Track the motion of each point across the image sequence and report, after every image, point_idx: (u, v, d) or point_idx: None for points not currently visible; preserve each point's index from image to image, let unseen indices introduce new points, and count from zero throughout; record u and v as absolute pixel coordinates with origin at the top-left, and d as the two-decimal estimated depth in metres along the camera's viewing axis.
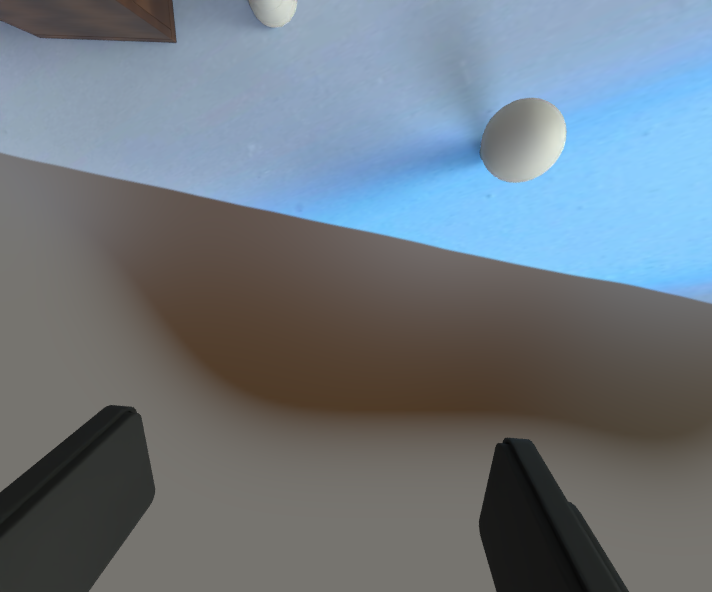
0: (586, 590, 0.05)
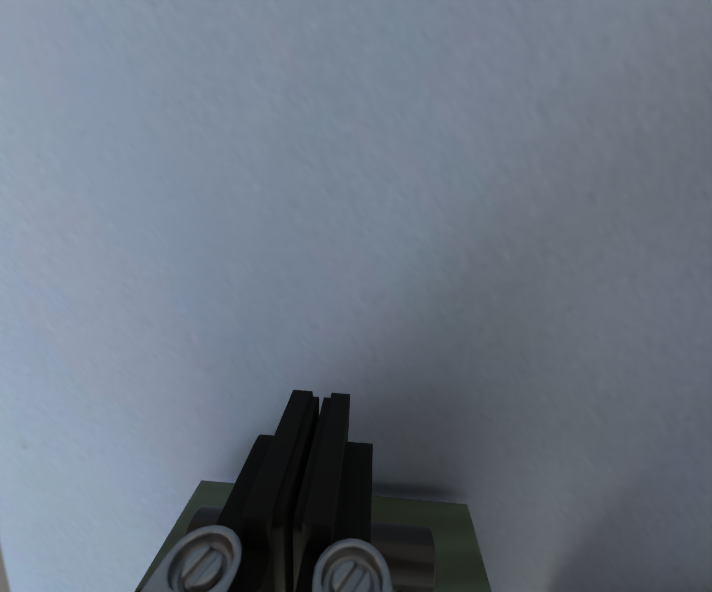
0: (309, 490, 0.06)
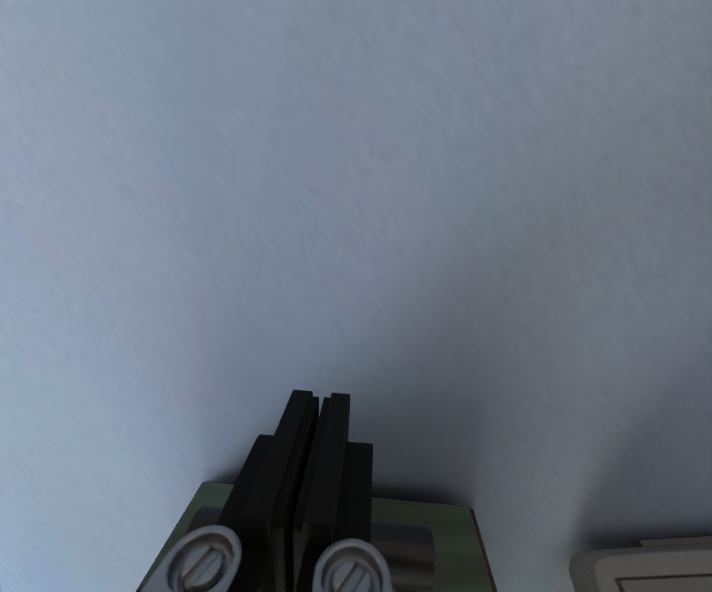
0: (309, 490, 0.06)
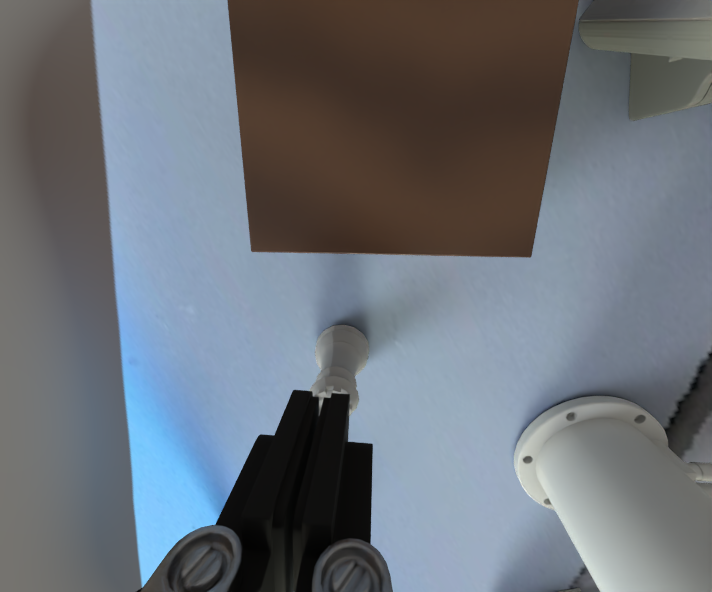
0: (309, 490, 0.06)
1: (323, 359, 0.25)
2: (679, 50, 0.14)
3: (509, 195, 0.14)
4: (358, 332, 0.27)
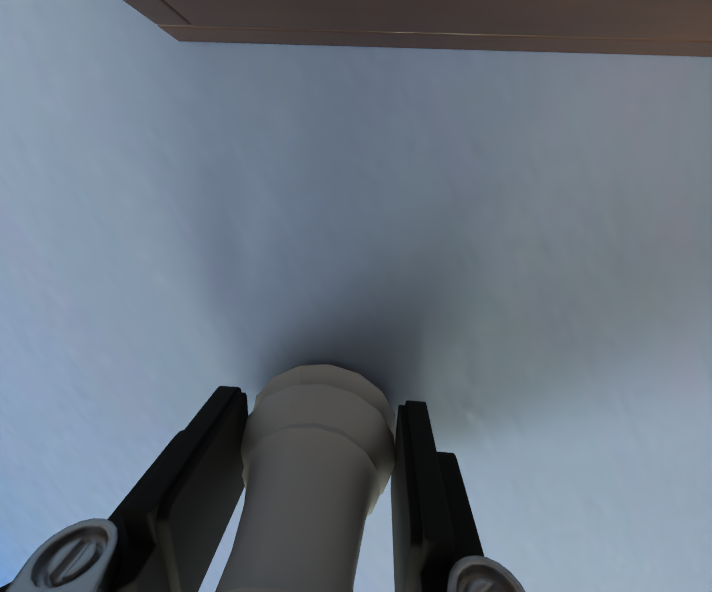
0: (420, 504, 0.06)
1: (249, 496, 0.07)
2: None
3: None
4: (369, 388, 0.09)
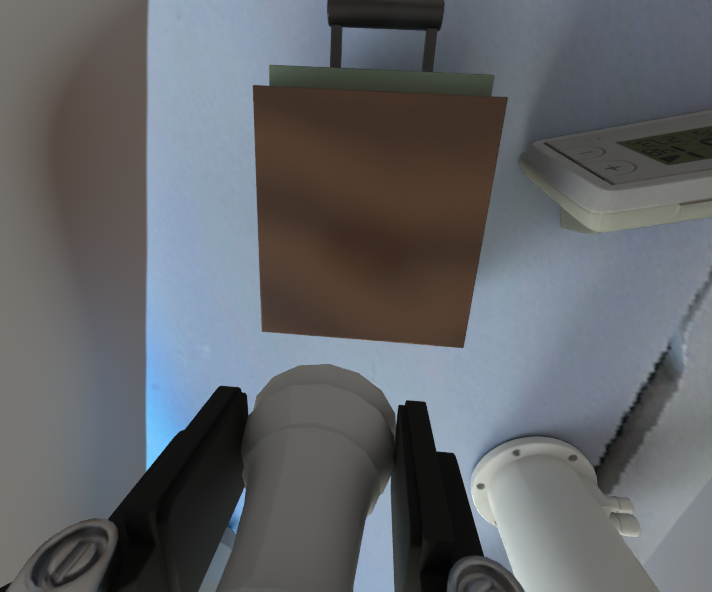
0: (420, 504, 0.06)
1: (249, 495, 0.07)
2: (569, 213, 0.20)
3: (447, 306, 0.20)
4: (369, 388, 0.09)
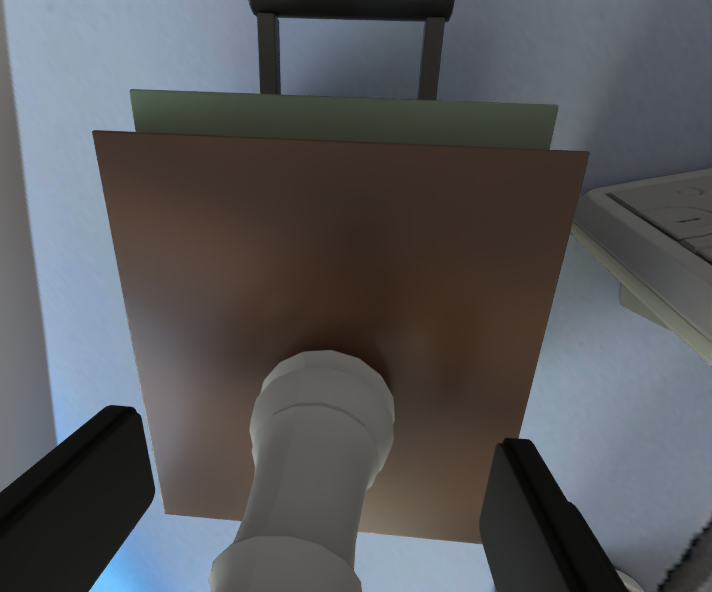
0: (586, 590, 0.05)
1: (260, 466, 0.08)
2: (674, 332, 0.12)
3: (465, 489, 0.12)
4: (369, 372, 0.10)
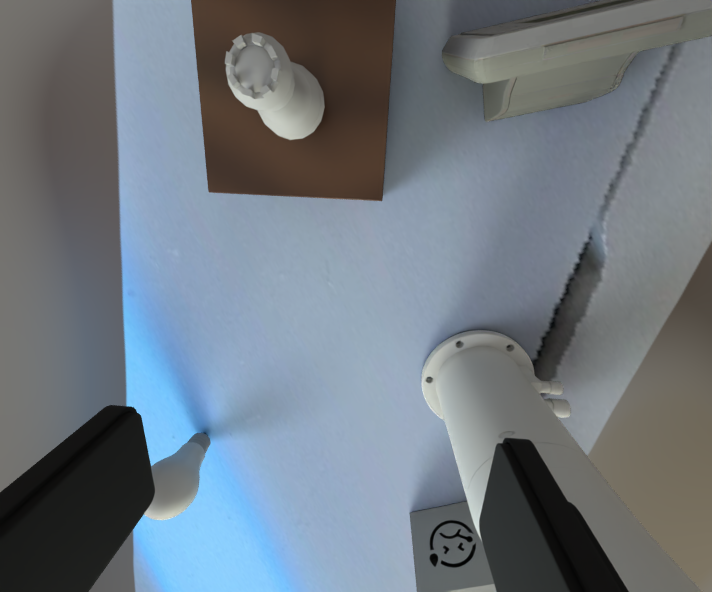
0: (586, 590, 0.05)
1: None
2: (468, 76, 0.23)
3: (364, 160, 0.24)
4: None
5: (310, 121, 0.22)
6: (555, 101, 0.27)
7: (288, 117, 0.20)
